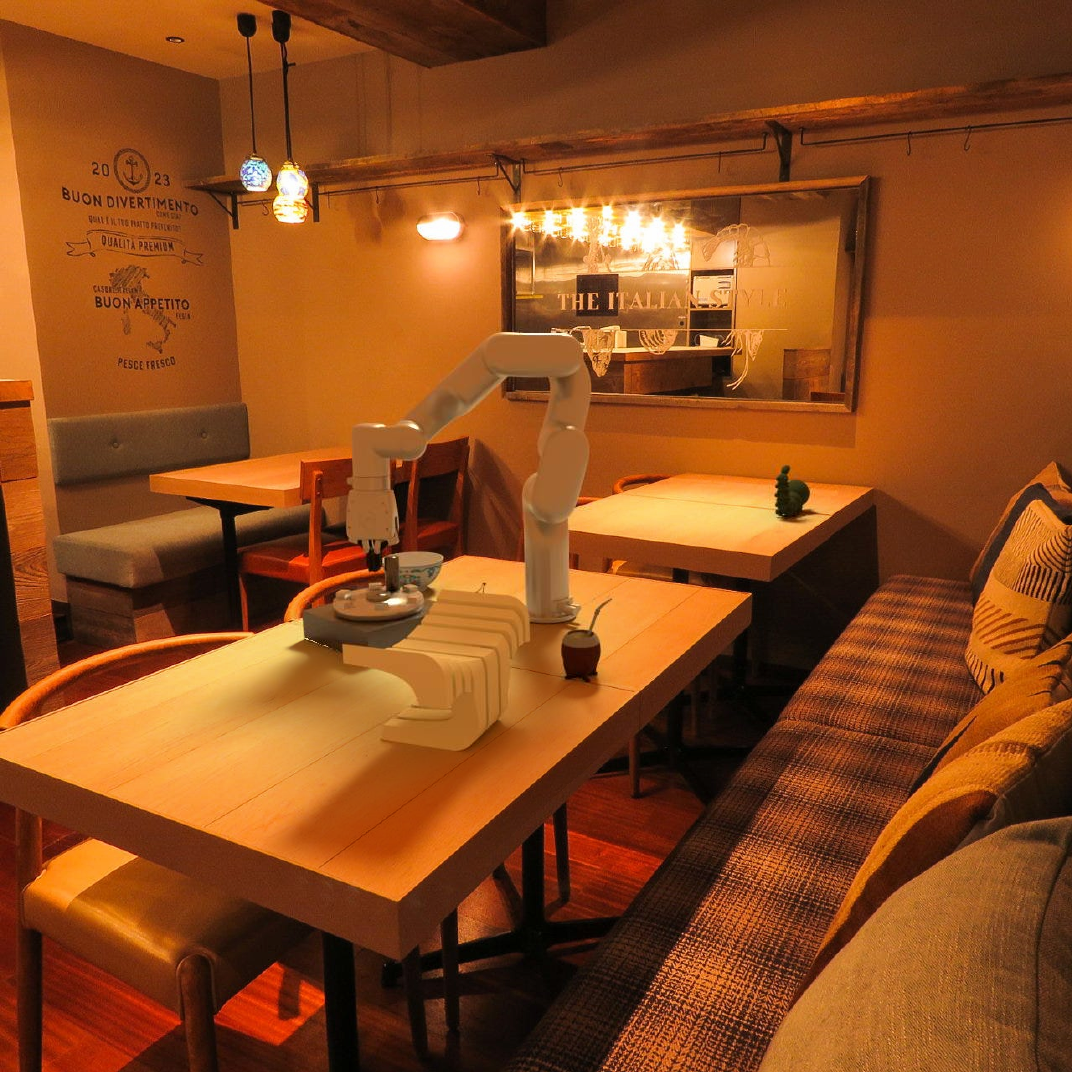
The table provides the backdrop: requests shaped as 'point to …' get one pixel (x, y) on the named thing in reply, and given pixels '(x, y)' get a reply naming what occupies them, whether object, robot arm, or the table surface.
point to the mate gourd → (581, 651)
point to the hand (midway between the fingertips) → (374, 570)
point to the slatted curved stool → (452, 668)
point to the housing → (358, 628)
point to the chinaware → (418, 568)
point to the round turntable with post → (380, 598)
